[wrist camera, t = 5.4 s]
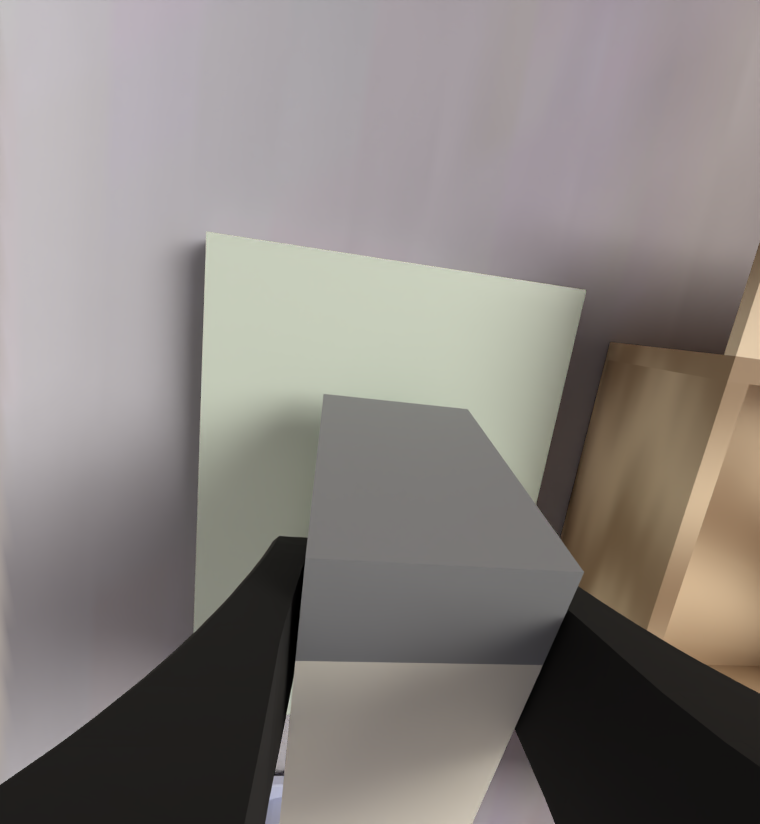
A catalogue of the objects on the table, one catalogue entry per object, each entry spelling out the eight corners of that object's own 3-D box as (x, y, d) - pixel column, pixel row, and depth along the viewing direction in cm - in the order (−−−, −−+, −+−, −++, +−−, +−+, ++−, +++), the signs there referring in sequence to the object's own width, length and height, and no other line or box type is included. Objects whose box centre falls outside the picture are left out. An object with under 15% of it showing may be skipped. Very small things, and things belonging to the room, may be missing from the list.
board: (478, 691, 17) (486, 714, 16) (199, 689, 15) (190, 714, 14) (568, 291, 13) (586, 290, 12) (216, 238, 12) (206, 231, 11)
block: (415, 615, 15) (461, 848, 9) (301, 611, 14) (276, 856, 8) (467, 409, 11) (584, 572, 6) (323, 393, 11) (305, 557, 5)
